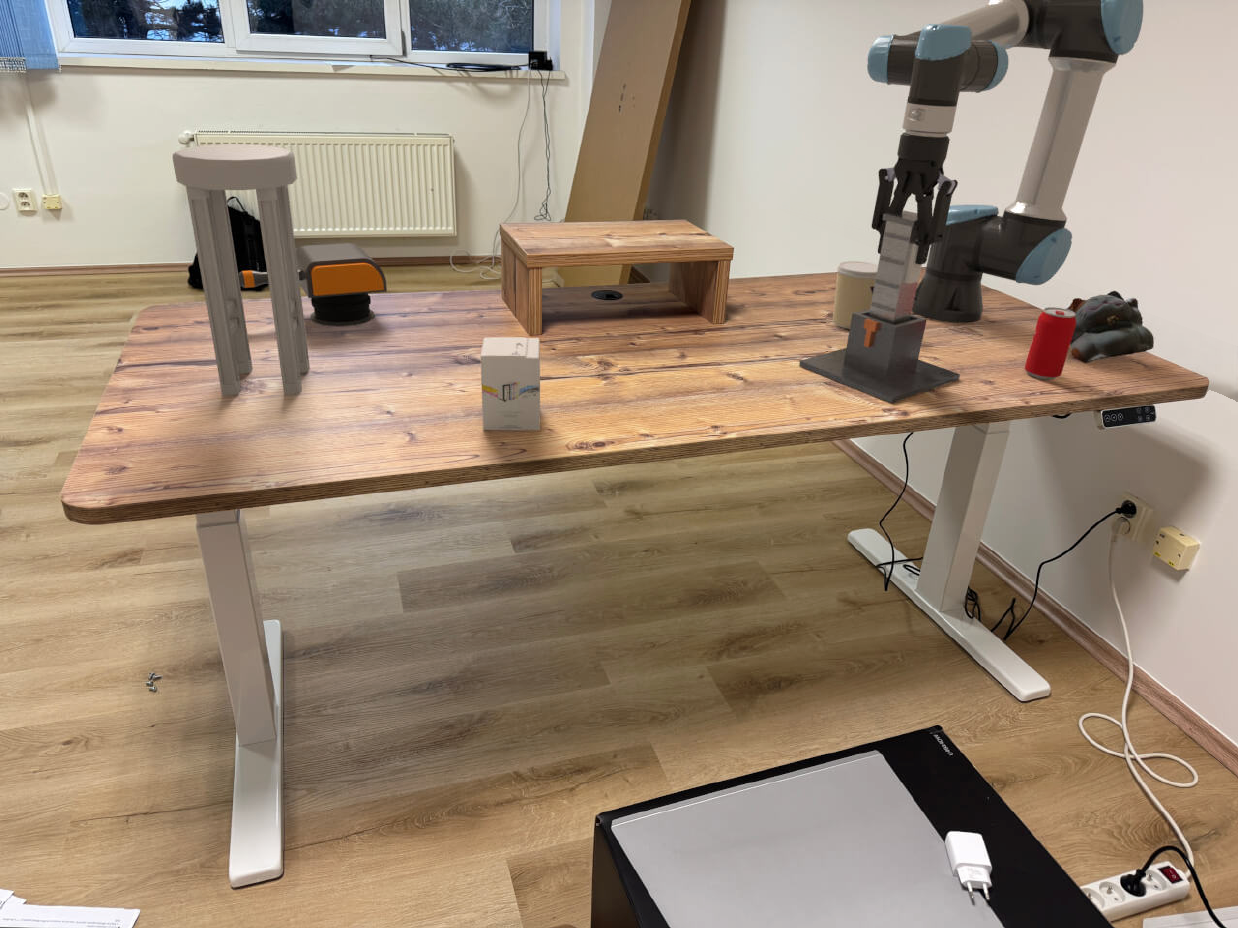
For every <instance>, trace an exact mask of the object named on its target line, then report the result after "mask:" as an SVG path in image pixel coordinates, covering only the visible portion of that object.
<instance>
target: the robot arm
mask: <svg viewBox="0 0 1238 928" xmlns="http://www.w3.org/2000/svg"><path fill="white" fill-rule="evenodd" d="M1143 18H1144V1H1143V0H989V1H988V2H987V3H986V5H985V6H982V7H980V8H977V9H975V10H972V11H969V12H966V13H963V14H961V15H959V16H956V17H953V18H950V19H947V20H944V21H941V22H940V23H938V24H937V23H928V24H926V25H924V26H923V27H922V29H921V30H918V31H914V32H912V33H908V34H906V35H897V34H895V33H893V34H891V35H889V34H888V35H886V34H885V35H884V34H883V35H881V36H879V37H877V38H876V39H875V41H873V43H872V45H871V46H870V48H869V50H868V54H867V65H866V68H867V70H866V71H867V74H868V75H869V77H870V79H872V80H873V82H876V83H882V84H886V85H888V86H891V85H895V86H907V87H909V92H908V96H907V101H906V105H905V106H906V107H905V112H904V116H903V122H902V129H903V130H905V132H902V134H900V136H899V142H898V147H897V148H898V149H897V153H896V154H897V161H896V163H895V164H894V165H893V166H892V167H886V168H880V169H879V170H878V181H879V182H878V183H879V185H878V188H877V189H878V190H877V195H876V199H875V206H874V210H873V215H872V220H871V228H872V230H875V231H877V232H878V233H879V235H880V236H879V240H878V246H877V253H878V254H879V255H880V254H881V248H882V243H883V238H884V232H885V227H886V222H887V221H885V220H882V219H883V214H885V213H893V214H894V213H901V212H903V211H904V208H905V206H906V205H907V202H908V200H909V198H910V197H912V195H914V198H915V199H914V200H915V202H916V213H917V219H920V220H921V222H920V226H917V230H918V242H915V244H913V245H912V250H911V255H910V260H909V265H908V270H907V275H906V280H905V283H907V284H910V283H915V282H919V280H920V274H921V269H922V266H923V265H925V264H926V267H925V272H924V275H923V277H922V279H921V280H920V282H919V283H918V284H917V289H916V293H915V298H914V303H913V308H912V312H911V313H914V315H916V316H918V317H921V318H924V319H929V320H934V321H937V322H944V323H953V324H968V323H969V324H970V323H971V324H972V323H974V322H978V321H980V320H981V319H982V315H983V311H984V305H983V293H982V279H983V275H984V274H986V275H988V276H989V275H990V276H993V277H998V278H1001V279H1005V280H1010V281H1014V282H1016V283H1018V284H1025V285H1032V286H1040V285H1043V284H1046V283H1047V282H1049V281H1050V280H1051V279H1053V277H1055V275H1056V274H1057V273H1058V272H1059V271H1060V269H1061V267H1062V266H1063V265H1064V263H1065V261H1066V259H1067V257H1068V255H1069V252H1070V250H1071V247H1072V239H1073V233H1072V232H1071V230H1069V229H1068V228H1066V224H1067V220H1068V217H1067V216H1066V214H1065V212H1064V211H1063V205H1064V202H1065V199H1066V196H1067V193H1068V189H1069V186H1070V182H1071V179H1072V176H1073V173H1074V170H1075V167H1076V164H1077V160H1078V157H1079V154H1080V152H1081V151H1080V150H1081V148H1082V144H1083V141H1084V138H1085V135H1086V132H1087V129H1088V125H1089V123H1090V119H1091V116H1092V113H1093V110H1094V106H1095V104H1096V99H1097V97H1098V94H1099V91H1100V86H1101V84H1102V80H1103V77H1104V76H1105V74H1106V73H1108V72H1109V71H1111V70H1112V69H1113V68H1115V67H1116V66H1117V62H1118V59H1119V56H1123V55H1126V54H1128V53H1130V52H1132V50H1133V48H1134V47H1135V43H1137V41H1138V40H1139V36H1140V32H1141V31H1142V25H1143V24H1142V23H1143ZM1012 48H1031V49H1042V50H1049V54H1048V58H1047V61H1048V63H1049V64H1050V66H1051V68H1052V70H1053V71H1052V74H1051V78H1050V81H1049V84H1048V88H1047V91H1046V95H1045V98H1044V101H1043V105H1042V109H1041V113H1040V115H1039V118H1038V122H1037V126H1036V130H1035V133H1034V137H1033V138H1032V139H1033V140H1032V143H1031V147H1030V148H1029V149H1030V150H1029V153H1028V157H1027V160H1026V163H1025V166H1024V170H1023V174H1022V177H1021V180H1020V181H1021V182H1020V184H1019V187H1018V190H1017V191H1018V192H1017V195H1016V198H1015V200H1014V201H1013V202H1012V203H1010V204H1009V205H1008V206H1006V207H1004V210H1003V214H1002V216H1001V215H999V214H1000V210H999V208H998V206H996V205H989V204H955V205H952V203H951V201H952V198H953V194H954V192H955V191H956V188H957V187H958V185H959V183H958V180H956V179H951V178H949V177H947V176H946V175H945V171H944V163H945V161H946V159H947V154H948V150H949V145H950V140H951V139H950V137H949V136H947V134H950V133H951V132H952V130H953V127H954V121H955V116H956V112H957V106H958V100H959V96H960V94H961V93H976V94H979V93H981V92H987V91H990V90H993V89H994V88H996V87H997V86H998V85H1000V83H1002V81H1003V80H1004V78H1005V76H1006V74H1007V72H1008V70H1009V61H1010V60H1009V55H1008V53H1007V50H1009V49H1012ZM895 179H896V181H897V184H896V187H895V189H894V185H895ZM937 185H938V186H937ZM936 186H937V187H936ZM935 187H936V188H937V190H938V191H937V193H936V196H935ZM892 196H893V198H892ZM934 199H935V202H934V205H933V201H934ZM933 206H934V207H933Z"/></svg>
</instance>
